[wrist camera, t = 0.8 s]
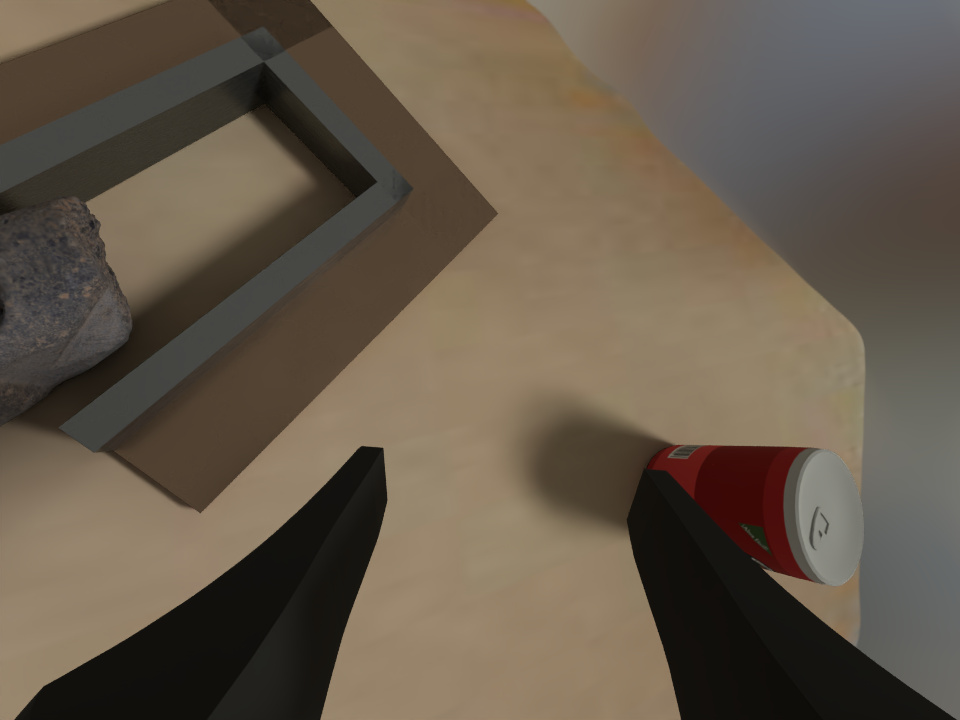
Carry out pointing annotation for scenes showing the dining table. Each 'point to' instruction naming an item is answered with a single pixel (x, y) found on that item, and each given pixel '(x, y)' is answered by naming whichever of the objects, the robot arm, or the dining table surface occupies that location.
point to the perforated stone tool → (54, 301)
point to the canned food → (777, 504)
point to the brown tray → (287, 281)
